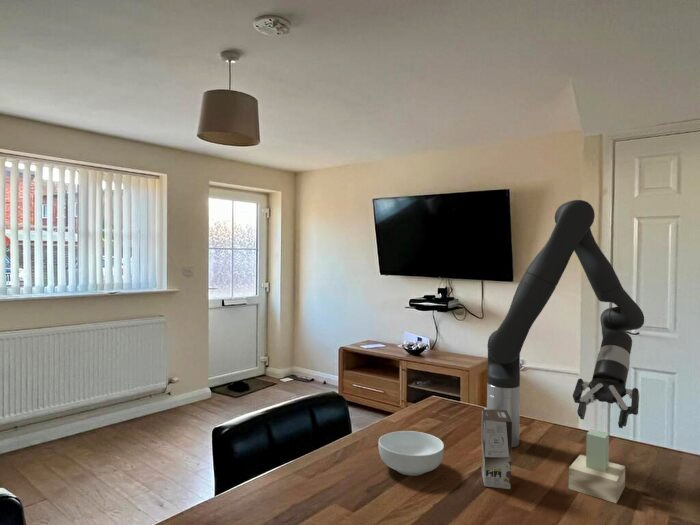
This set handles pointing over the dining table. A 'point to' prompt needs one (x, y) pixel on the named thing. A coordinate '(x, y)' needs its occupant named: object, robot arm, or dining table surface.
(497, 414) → the coffee box
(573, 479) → the maple block
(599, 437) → the sage block
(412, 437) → the cereal bowl
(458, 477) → the dining table surface
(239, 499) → the dining table surface
